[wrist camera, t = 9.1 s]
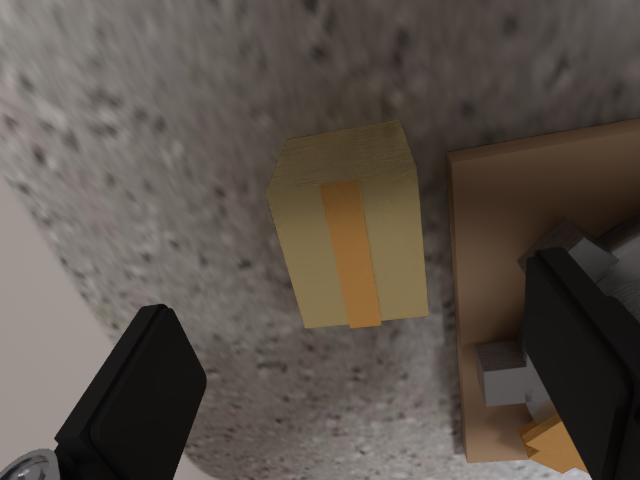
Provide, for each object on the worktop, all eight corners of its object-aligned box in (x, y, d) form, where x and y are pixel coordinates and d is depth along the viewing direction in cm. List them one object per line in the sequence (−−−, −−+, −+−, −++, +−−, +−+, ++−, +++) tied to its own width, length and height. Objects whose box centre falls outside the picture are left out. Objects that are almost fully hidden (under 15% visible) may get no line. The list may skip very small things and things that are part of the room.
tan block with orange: (286, 138, 15) (263, 195, 11) (399, 118, 14) (417, 171, 10) (315, 252, 17) (304, 333, 13) (411, 240, 17) (430, 320, 13)
